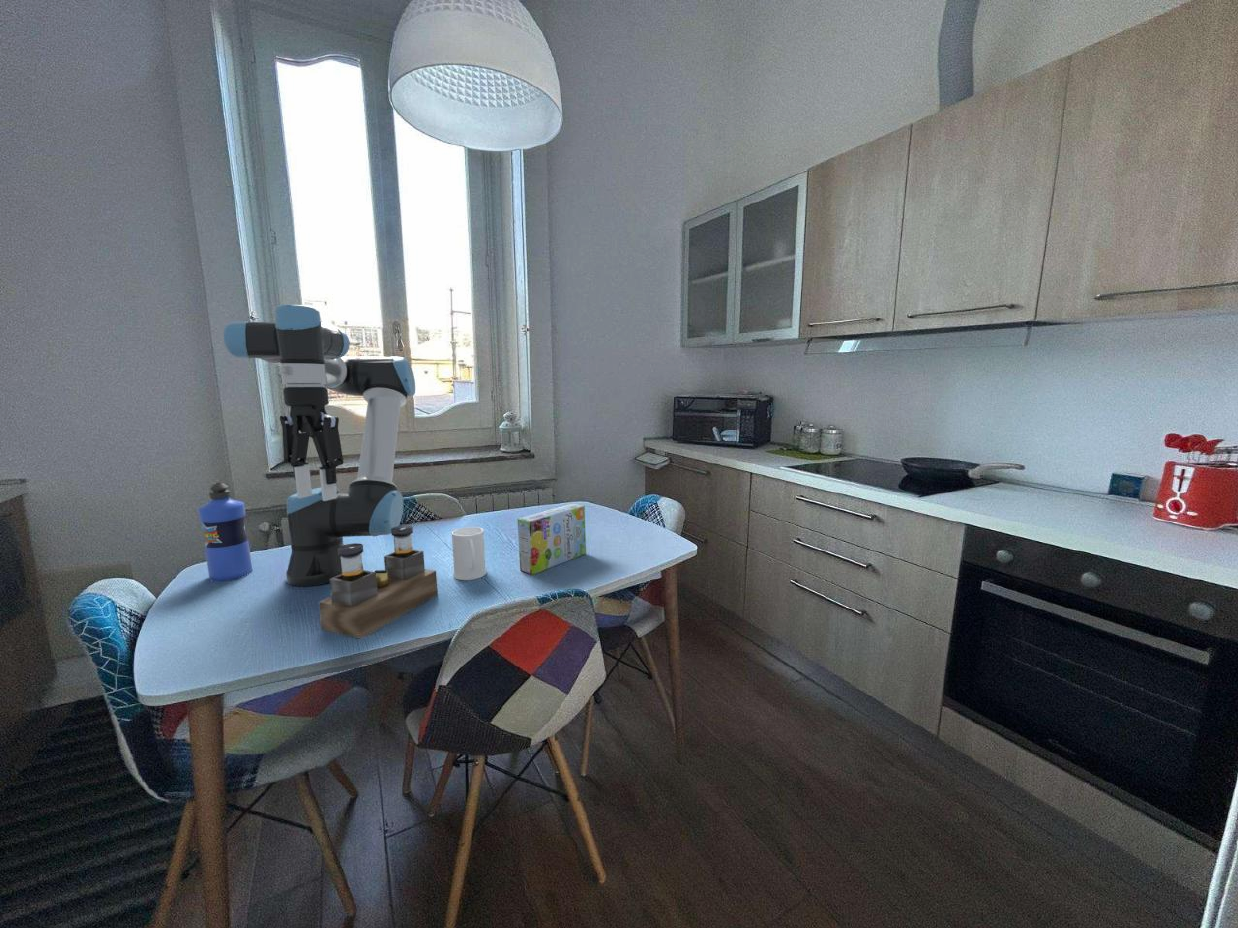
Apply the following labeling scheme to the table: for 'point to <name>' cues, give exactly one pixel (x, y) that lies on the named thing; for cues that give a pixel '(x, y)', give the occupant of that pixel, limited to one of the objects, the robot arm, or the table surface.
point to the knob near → (351, 561)
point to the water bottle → (225, 535)
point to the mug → (468, 553)
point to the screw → (382, 578)
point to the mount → (377, 596)
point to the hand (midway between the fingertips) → (317, 497)
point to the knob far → (402, 541)
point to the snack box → (551, 537)
